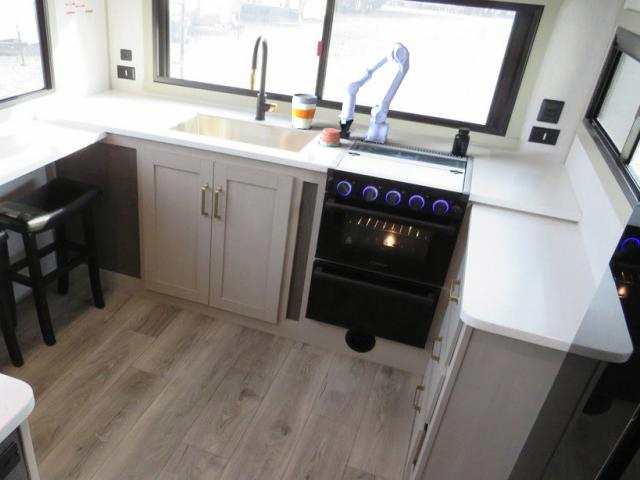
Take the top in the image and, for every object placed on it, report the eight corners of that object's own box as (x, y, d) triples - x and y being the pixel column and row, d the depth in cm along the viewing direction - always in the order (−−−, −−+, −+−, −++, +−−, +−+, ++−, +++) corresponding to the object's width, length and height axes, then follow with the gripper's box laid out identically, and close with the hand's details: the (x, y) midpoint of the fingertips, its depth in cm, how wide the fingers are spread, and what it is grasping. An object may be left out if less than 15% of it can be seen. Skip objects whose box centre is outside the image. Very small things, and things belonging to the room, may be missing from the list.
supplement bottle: (465, 153, 272) (472, 127, 265) (465, 157, 266) (472, 131, 260) (450, 151, 274) (457, 125, 267) (450, 155, 268) (456, 129, 262)
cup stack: (341, 142, 276) (343, 129, 272) (336, 148, 268) (338, 134, 265) (322, 139, 278) (324, 126, 275) (317, 144, 271) (319, 131, 268)
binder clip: (349, 138, 283) (350, 131, 281) (348, 139, 281) (349, 132, 279) (339, 136, 284) (340, 129, 283) (338, 137, 282) (339, 131, 280)
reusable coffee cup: (300, 122, 303) (303, 92, 295) (318, 127, 295) (322, 97, 288) (284, 125, 295) (287, 94, 287) (303, 130, 287) (307, 99, 280)
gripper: (344, 102, 281) (340, 130, 289) (336, 108, 270) (332, 137, 277) (358, 104, 279) (353, 132, 287) (351, 111, 268) (347, 139, 275)
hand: (344, 135), depth 282 cm, fingers closed on binder clip, 3 cm apart
